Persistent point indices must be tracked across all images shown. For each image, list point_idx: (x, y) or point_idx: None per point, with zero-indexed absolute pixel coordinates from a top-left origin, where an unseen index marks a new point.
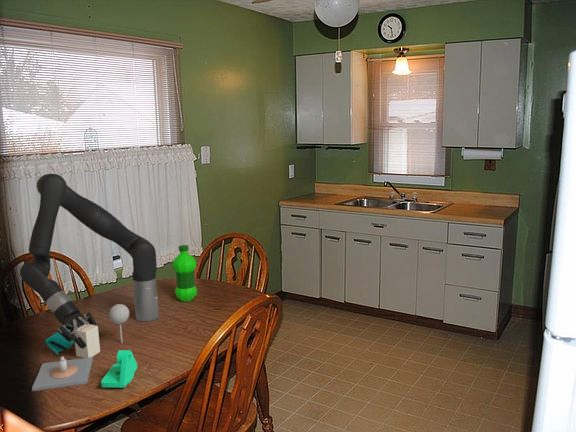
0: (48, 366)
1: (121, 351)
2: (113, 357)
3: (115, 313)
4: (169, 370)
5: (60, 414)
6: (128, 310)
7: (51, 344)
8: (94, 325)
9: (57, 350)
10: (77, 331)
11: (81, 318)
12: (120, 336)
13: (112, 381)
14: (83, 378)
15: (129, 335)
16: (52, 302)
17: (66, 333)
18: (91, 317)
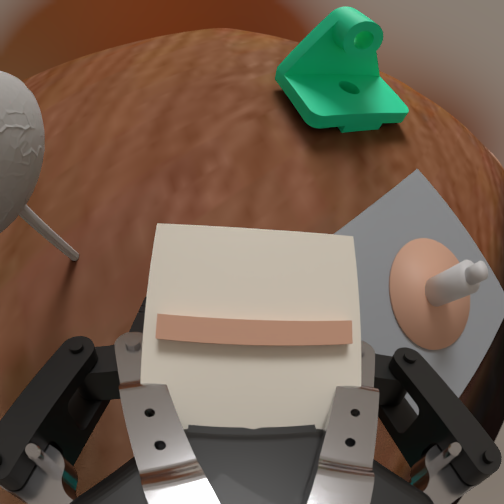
0: None
1: (367, 17)
2: (223, 195)
3: (12, 94)
4: (239, 42)
5: (486, 165)
6: None
7: None
8: (155, 269)
9: None
10: (355, 370)
11: (170, 495)
12: (61, 242)
13: (387, 89)
14: (417, 186)
15: (15, 268)
16: None
17: (454, 396)
18: (22, 415)
